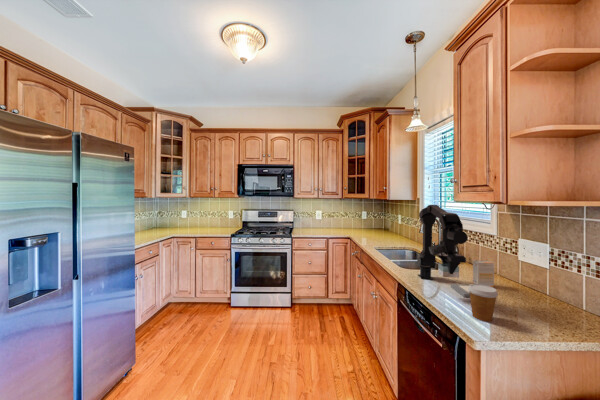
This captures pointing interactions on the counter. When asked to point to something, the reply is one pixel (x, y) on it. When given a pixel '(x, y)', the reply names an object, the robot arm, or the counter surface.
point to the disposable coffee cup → (482, 301)
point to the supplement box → (483, 273)
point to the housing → (447, 271)
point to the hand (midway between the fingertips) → (448, 272)
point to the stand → (461, 289)
